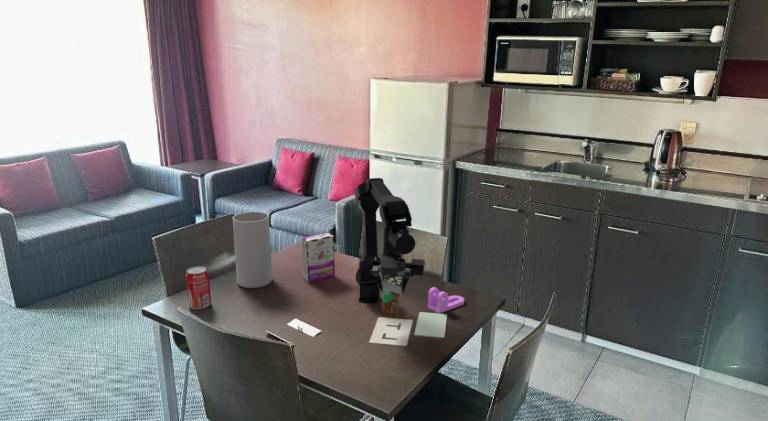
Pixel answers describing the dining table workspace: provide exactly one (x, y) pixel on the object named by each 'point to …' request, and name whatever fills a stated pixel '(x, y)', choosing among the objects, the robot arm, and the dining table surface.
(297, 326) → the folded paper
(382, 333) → the pad
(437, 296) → the bracket
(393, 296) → the food container
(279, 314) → the dining table surface
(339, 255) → the dining table surface
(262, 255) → the cylinder vase
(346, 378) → the dining table surface
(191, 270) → the soda can
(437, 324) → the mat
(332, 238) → the candy bar box
